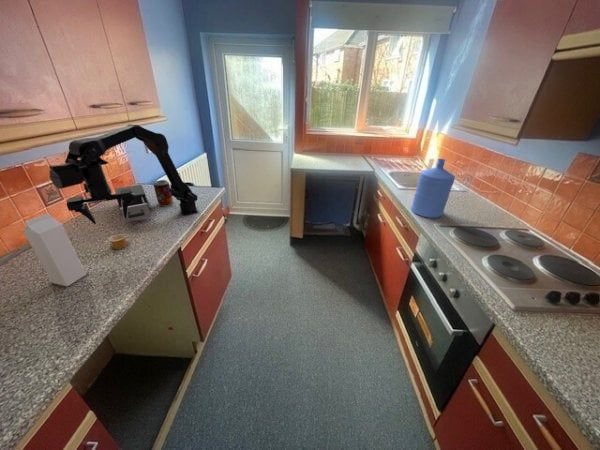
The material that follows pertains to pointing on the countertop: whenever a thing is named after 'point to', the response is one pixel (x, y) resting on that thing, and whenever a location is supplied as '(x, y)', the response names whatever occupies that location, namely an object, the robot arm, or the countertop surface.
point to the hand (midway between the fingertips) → (110, 220)
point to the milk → (54, 249)
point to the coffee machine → (136, 190)
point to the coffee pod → (118, 241)
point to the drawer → (136, 210)
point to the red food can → (163, 192)
